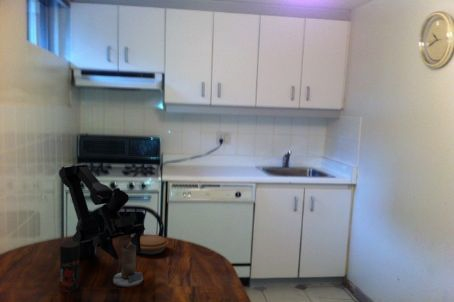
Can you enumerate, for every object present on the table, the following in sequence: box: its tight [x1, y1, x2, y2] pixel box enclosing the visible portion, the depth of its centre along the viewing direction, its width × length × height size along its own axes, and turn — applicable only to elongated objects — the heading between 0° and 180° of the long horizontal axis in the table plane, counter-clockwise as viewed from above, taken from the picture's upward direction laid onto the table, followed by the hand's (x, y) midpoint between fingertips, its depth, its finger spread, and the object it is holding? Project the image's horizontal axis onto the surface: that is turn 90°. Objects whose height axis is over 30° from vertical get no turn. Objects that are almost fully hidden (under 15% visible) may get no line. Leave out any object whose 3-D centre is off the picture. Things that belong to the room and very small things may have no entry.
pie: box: [140, 234, 170, 256], centre depth 165 cm, size 15×16×5 cm
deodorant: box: [59, 240, 80, 293], centre depth 127 cm, size 6×6×15 cm
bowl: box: [113, 271, 144, 288], centre depth 135 cm, size 10×10×4 cm
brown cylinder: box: [120, 242, 137, 280], centre depth 135 cm, size 5×5×12 cm
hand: (129, 256), depth 134 cm, fingers open, 9 cm apart
